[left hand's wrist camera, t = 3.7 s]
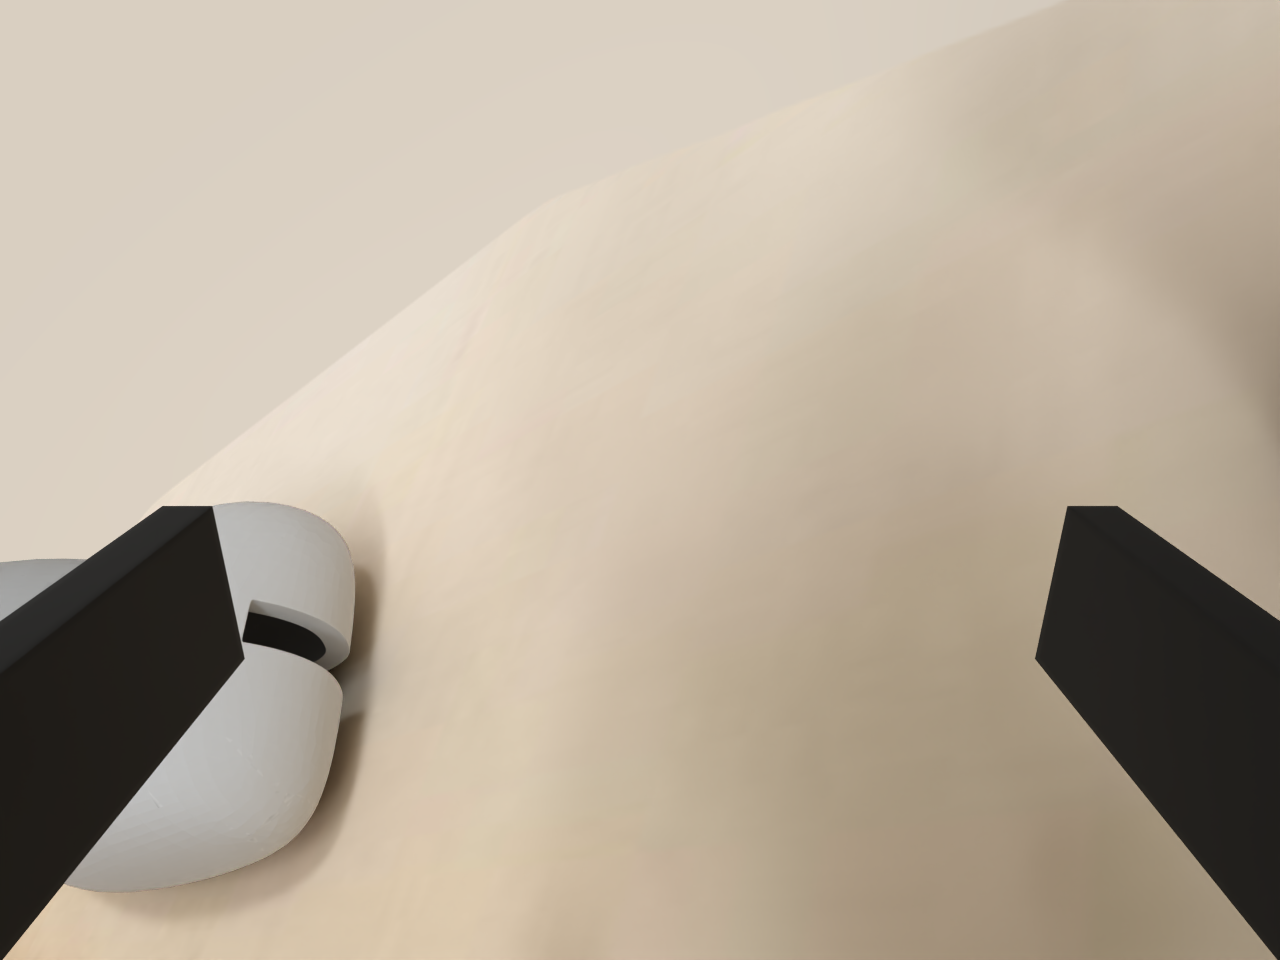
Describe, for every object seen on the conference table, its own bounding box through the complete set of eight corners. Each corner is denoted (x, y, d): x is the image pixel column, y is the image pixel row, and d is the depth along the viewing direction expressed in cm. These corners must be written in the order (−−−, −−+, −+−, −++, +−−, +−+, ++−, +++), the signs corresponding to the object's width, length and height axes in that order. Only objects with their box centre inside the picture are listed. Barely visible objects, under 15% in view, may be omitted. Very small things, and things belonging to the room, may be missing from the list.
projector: (289, 491, 51) (50, 358, 41) (485, 617, 36) (178, 452, 25) (69, 811, 47) (-260, 751, 37) (183, 1117, 31) (-338, 1161, 21)
